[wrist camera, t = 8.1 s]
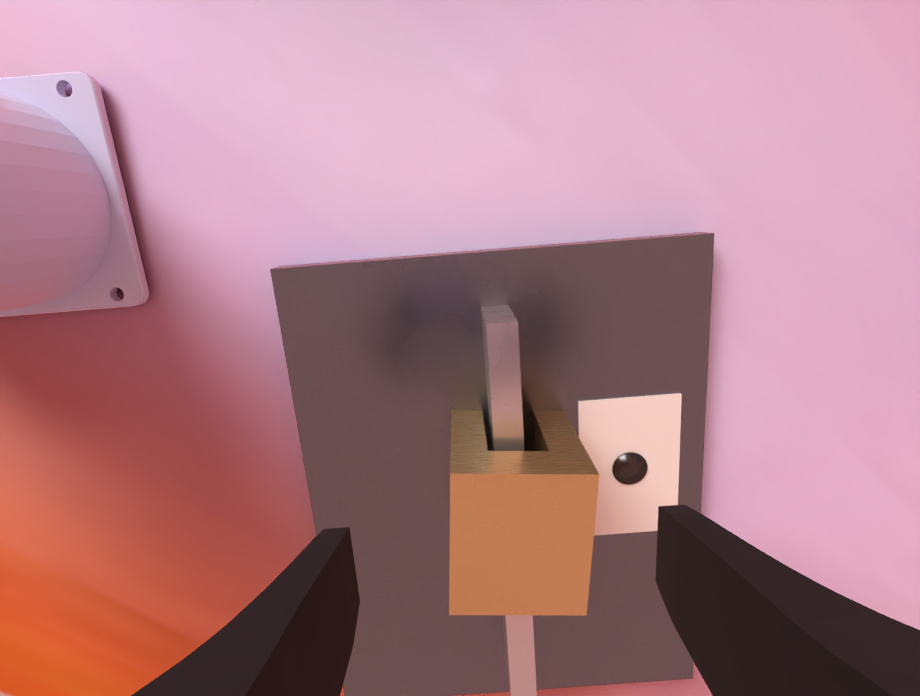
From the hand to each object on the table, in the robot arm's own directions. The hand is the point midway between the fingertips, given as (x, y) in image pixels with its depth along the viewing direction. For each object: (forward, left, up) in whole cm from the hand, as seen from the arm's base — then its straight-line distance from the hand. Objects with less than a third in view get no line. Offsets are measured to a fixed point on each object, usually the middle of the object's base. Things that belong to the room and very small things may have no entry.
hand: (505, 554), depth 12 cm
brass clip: (+1, -2, -8) cm, 9 cm away
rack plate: (+1, -4, -9) cm, 10 cm away
